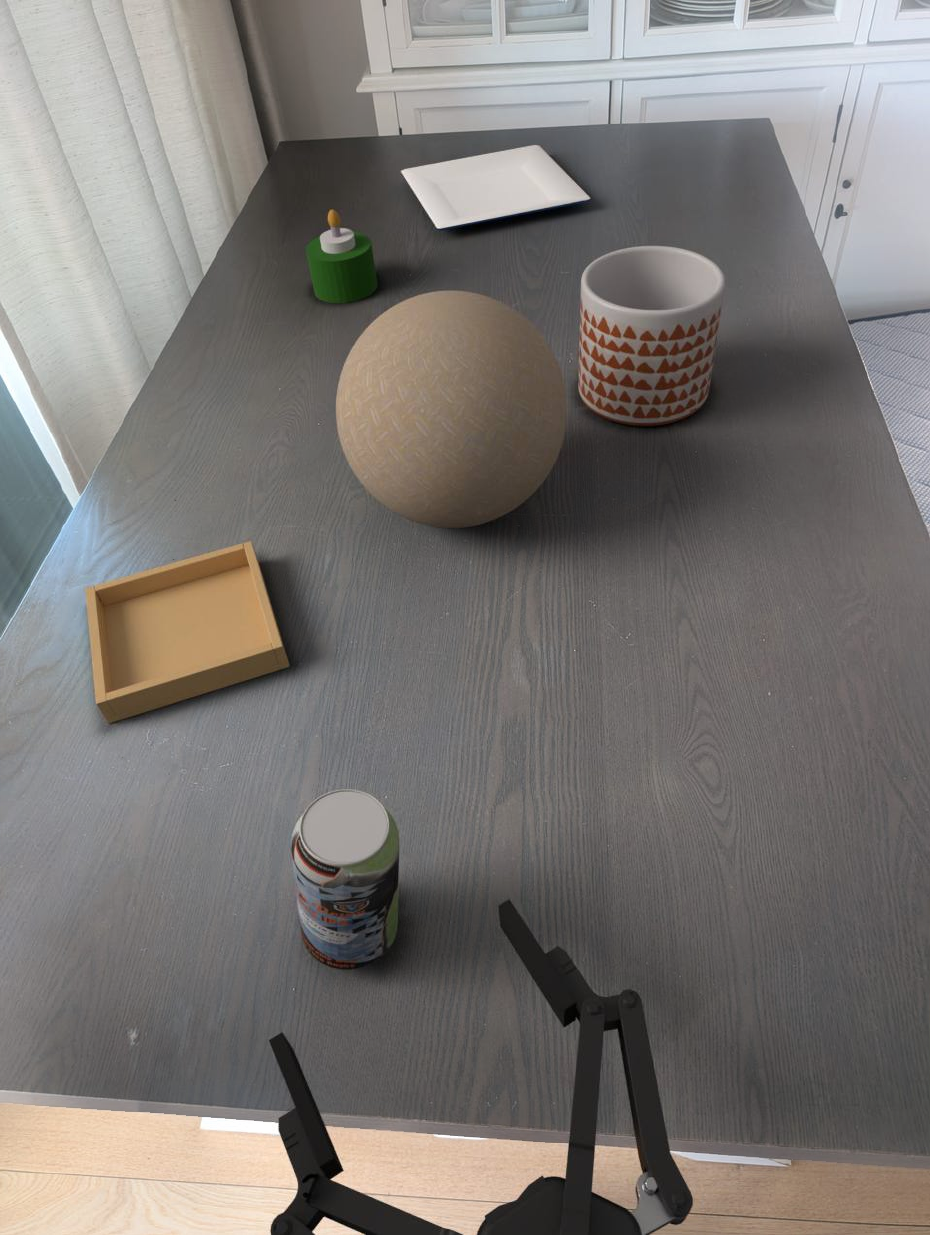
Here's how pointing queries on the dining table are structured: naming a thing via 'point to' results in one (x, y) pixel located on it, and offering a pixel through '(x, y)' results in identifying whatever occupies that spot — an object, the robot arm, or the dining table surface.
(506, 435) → the decorative sphere
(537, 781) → the dining table surface
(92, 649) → the wooden serving tray
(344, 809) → the beverage can
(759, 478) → the dining table surface
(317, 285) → the candle
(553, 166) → the plate
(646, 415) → the planter
